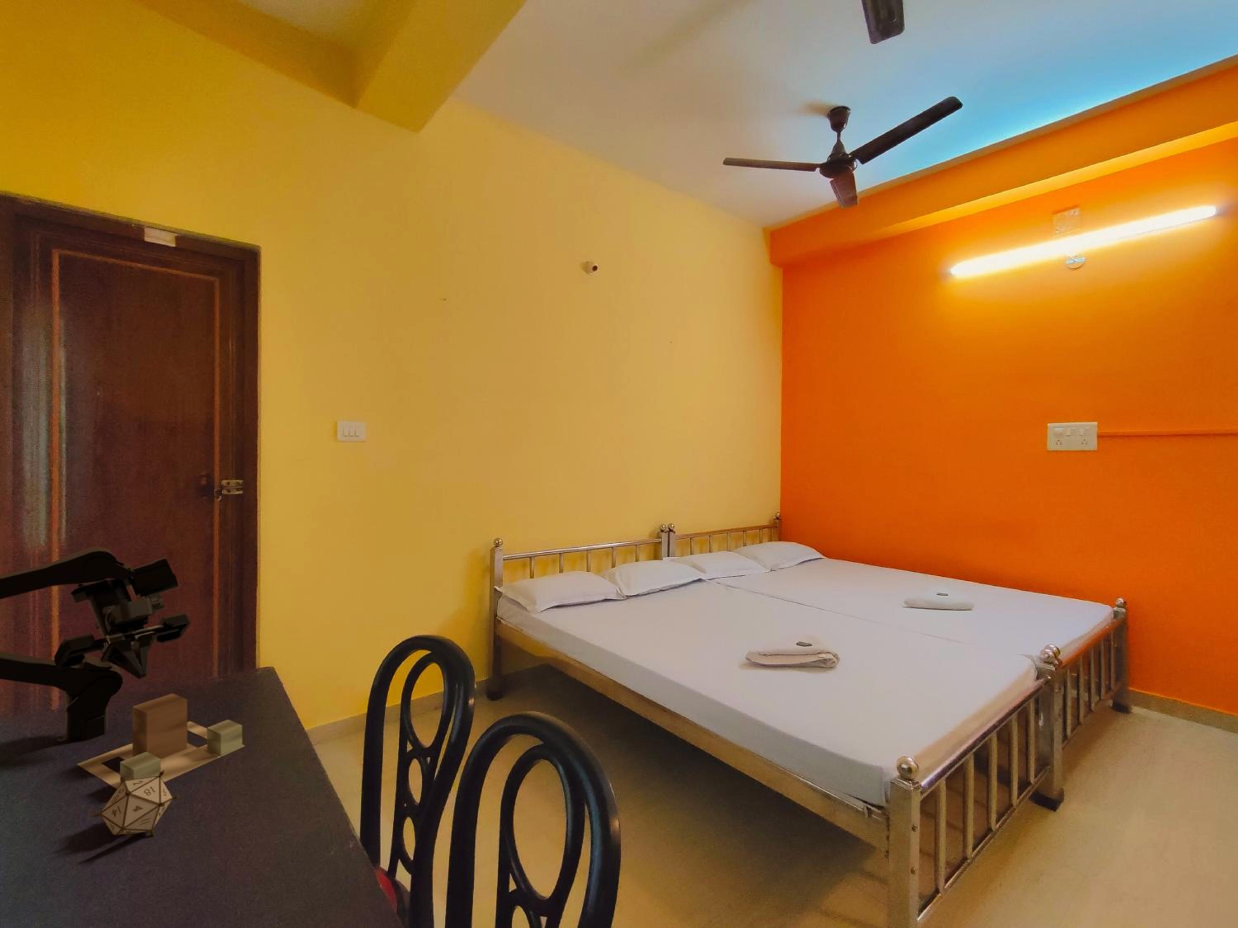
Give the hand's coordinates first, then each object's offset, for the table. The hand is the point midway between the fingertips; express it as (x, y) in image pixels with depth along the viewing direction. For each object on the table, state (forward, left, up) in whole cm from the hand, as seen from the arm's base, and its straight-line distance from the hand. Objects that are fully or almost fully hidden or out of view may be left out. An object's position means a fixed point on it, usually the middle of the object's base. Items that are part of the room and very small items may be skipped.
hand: (143, 676), depth 101 cm
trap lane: (+7, 0, -14) cm, 15 cm away
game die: (+25, -11, -14) cm, 31 cm away
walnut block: (+6, 0, -12) cm, 14 cm away
